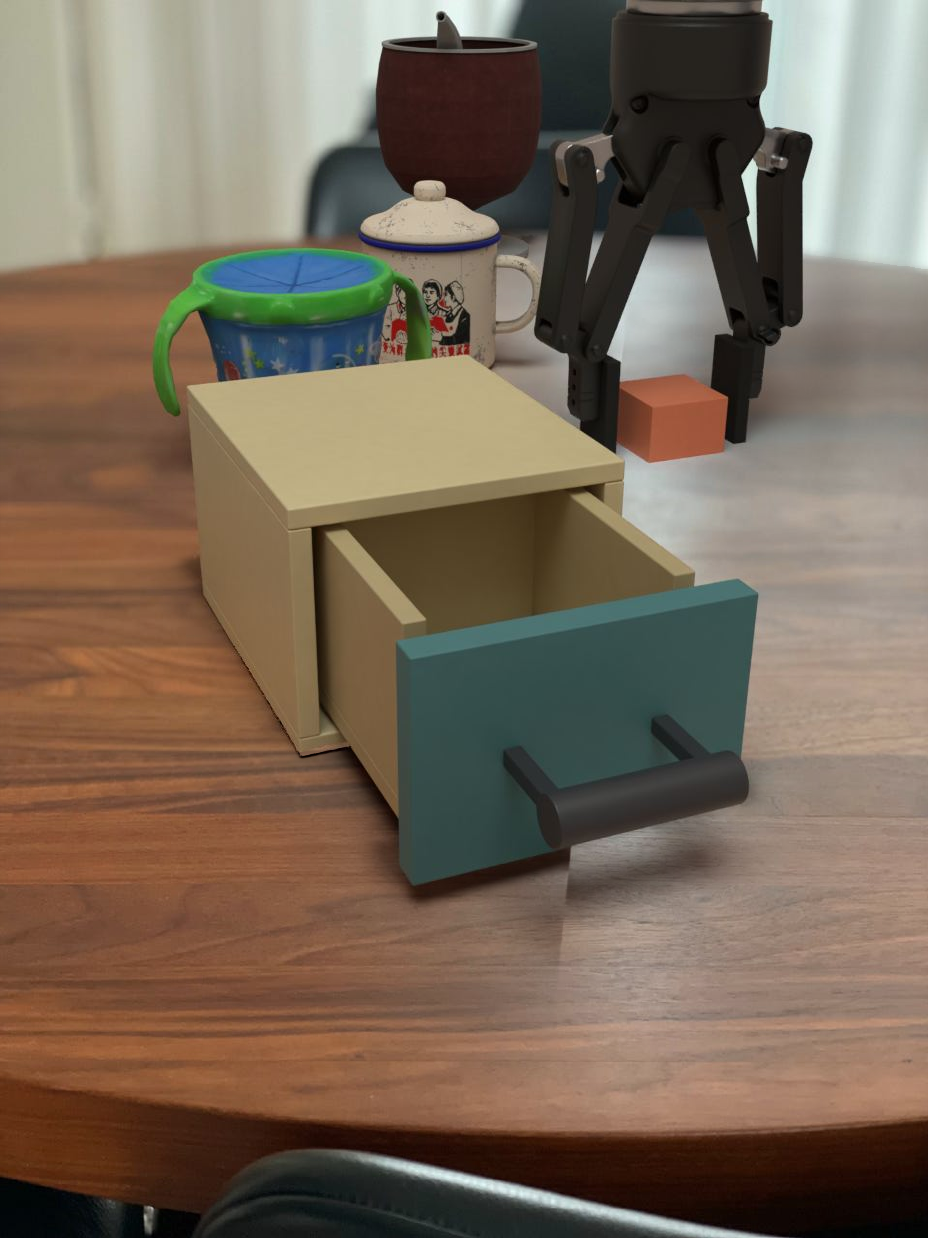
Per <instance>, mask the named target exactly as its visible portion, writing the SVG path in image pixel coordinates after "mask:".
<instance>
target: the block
mask: <svg viewBox="0 0 928 1238" xmlns="http://www.w3.org/2000/svg"><path fill="white" fill-rule="evenodd" d="M727 405H728V397H727V396H725V395H723V394H721V393H719V392H717V391H715V390H713V389H712V388H711V386H710V387H709V386H707V385H706V384H704V383H702V382H701V381H698V380H697V379H695V378H693V377H691V376H689V375H687V374H685V373H681V374H680V373H679V374H671V375H664V376H657V377H648V378H640V379H631V380H624V381H620V389H619V407H618V426H617V444H619V445H620V446H622V447H623V448H625V449H627V450H628V451H630V452H631V453H632V454H634V455H636V456H637V457H638V458H640V459H642V460H643V461H645V462H647V463H648V464H653V463H659V462H667V461H675V460H680V459H681V460H682V459H687V458H693V457H694V458H695V457H700V456H707V455H715V454H721V453H724V449H725V439H724V438H725V427H726V416H727Z"/></svg>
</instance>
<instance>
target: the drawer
mask: <svg viewBox="0 0 928 1238" xmlns="http://www.w3.org/2000/svg"><path fill="white" fill-rule="evenodd" d="M310 528H311V532H312V555H313V578H314V601H315V624H316V647H317V670H318V693H319V700H320V701H321V703H322V704H323V706H324V707H325V709H326V710H327V712H328V713H329V715H330V716H331V718H332V719H333V721H334V722H335V724H336V725H337V727H338V728H339V730H340V731H341V733H342V734H343V736H344V737H345V739H346V740H347V742H348V743H349V745H350V746H351V747H350V748H351V750H352V751H353V752H354V754H355V756H356V757H357V759H358V760H359V762H360V763H361V765H362V766H363V768H364V769H365V770H366V772H367V774H368V775H369V777H370V779H372V781H373V782H374V784H375V786H376V787H377V789H378V790H379V792H380V793H381V794H382V796H383V798H384V799H385V800H386V802H387V804H388V805H389V807H390V809H391V810H392V811H393V812H394V814H395V815H396V817H397V819H398V860H399V864H398V865H399V867H400V868H401V870H402V872H403V873H404V874H405V876H406V878H407V879H408V881H409V882H410V884H411V885H412V887H413V886H419V885H424V884H429V883H431V882H435V881H439V880H444V879H447V878H452V877H456V876H459V875H464V874H468V873H472V872H476V871H480V870H483V869H488V868H492V867H496V866H501V865H504V864H509V863H512V862H516V861H520V860H524V859H529V858H532V857H536V856H540V855H544V854H549V853H552V852H557V851H560V850H564V849H569V848H572V846H576V845H577V846H578V845H581V844H584V843H588V842H592V841H596V840H601V839H604V838H609V837H613V836H617V835H621V834H626V833H629V832H634V831H637V830H641V829H645V828H649V827H654V826H657V825H662V824H666V823H670V822H674V821H677V820H682V819H686V818H689V817H694V816H698V815H703V814H706V813H710V812H714V811H718V810H722V809H727V808H730V807H731V808H732V807H734V806H738V805H742V804H743V803H745V802H746V801H747V798H748V796H749V792H750V779H749V776H748V772H747V769H746V766H745V763H744V762H743V760H742V751H743V741H744V733H745V724H746V723H745V722H746V715H747V706H748V705H747V704H748V695H749V687H750V686H749V685H750V676H751V666H752V658H753V648H754V639H755V630H756V622H757V613H758V603H759V592H758V591H756V590H755V589H753V588H752V587H751V586H749V585H748V584H747V583H746V582H744V581H742V580H741V579H740V578H733V579H727V580H722V581H717V582H716V581H715V582H711V583H705V584H700V585H695V581H696V571H695V570H694V569H693V568H692V567H691V566H689V565H688V564H687V563H685V562H683V561H682V560H681V559H680V558H678V557H677V556H676V555H674V554H673V553H671V552H670V551H669V550H667V549H666V548H665V547H664V546H663V545H660V544H659V543H658V542H657V541H655V540H654V539H653V538H652V537H650V536H649V535H647V534H646V533H645V532H644V531H642V530H641V529H639V528H638V527H637V526H635V525H634V524H633V523H631V522H630V521H628V520H627V519H626V518H624V517H623V515H622V516H620V515H619V514H618V513H616V512H615V511H613V510H612V509H611V508H609V507H608V506H607V505H605V504H604V503H603V502H601V501H600V500H599V499H597V498H596V497H595V496H593V495H592V494H591V493H589V492H588V491H587V490H585V489H584V488H582V487H574V488H568V489H561V490H554V491H548V492H541V493H534V494H528V495H521V496H514V497H508V498H501V499H494V500H488V501H481V502H474V503H468V504H461V505H454V506H448V507H441V508H434V509H428V510H421V511H415V512H408V513H401V514H395V515H388V516H381V517H375V518H368V519H361V520H355V521H348V522H341V523H335V524H328V525H321V526H315V527H310Z"/></svg>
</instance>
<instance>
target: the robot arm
mask: <svg viewBox="0 0 928 1238" xmlns="http://www.w3.org/2000/svg"><path fill="white" fill-rule="evenodd" d="M762 8H763V0H626V5H625V9H620V10H618V11H616V16H615V17H612V18H611V39H610V58H609V59H610V60H609V61H610V62H609V88H610V95H611V96H610V97H611V107H610V110H609V113H608V116H607V119H606V121H605V123H604V124H603V127H602V129H601V133H599V134H596V135H592V136H589V137H586V138H582V139H580V140H577V141H569V140H566V139H561V138H560V139H556V140H555V141H553V142H552V143H551V145H549V149H548V160H549V161H548V162H549V168H550V173H551V180H552V184H553V196H552V202H551V210H550V216H549V217H550V218H549V223H548V230H547V237H546V244H545V251H544V259H543V263H542V264H543V265H542V272H541V275H542V278H541V285H540V291H539V298H538V305H537V312H536V316H535V318H534V319H535V320H534V326H533V335H534V337H535V339H537V341H539V342H541V343H543V344H544V345H547V346H548V347H550V348H551V349H552V350H554V351H556V352H558V353H560V354H566V355H567V357H568V369H567V371H568V372H567V373H568V375H567V396H566V399H567V400H566V406H567V408H568V412H569V414H570V415H572V416H573V417H575V418H576V419H578V420H579V430H580V431H582V432H583V433H585V434H586V435H588V436H589V437H591V438H592V439H594V440H595V441H597V442H598V443H600V444H601V445H603V446H604V447H606V448H607V449H609V450H610V451H611V452H613V453H614V454H616V455H617V444H618V442H617V426H618V407H619V389H620V382H621V367H622V362H621V361H620V360H618V359H616V358H614V357H613V356H612V355H610V354H608V352H609V351H610V347H611V345H612V342H613V340H614V337H615V334H616V331H617V329H618V327H619V323H620V321H621V319H622V317H623V314H624V310H625V308H626V306H627V303H628V301H629V298H630V296H631V293H632V290H633V287H634V285H635V283H636V279H637V278H638V275H639V273H640V270H641V267H642V264H643V263H644V259H645V257H646V255H647V251H648V250H649V246H650V244H651V241H652V238H653V236H654V235H655V234H657V233H658V232H659V231H660V230H661V229H662V227H663V225H664V222H665V220H666V217H667V214H670V213H671V214H673V213H677V212H681V211H682V210H685V209H688V208H691V209H692V208H693V211H694V212H695V214H696V216H697V217H699V219H700V221H701V224H702V227H703V231H704V235H705V238H706V243H707V246H708V247H707V248H708V250H709V254H710V257H711V263H712V266H713V269H714V270H713V271H714V273H715V277H716V281H717V284H718V288H719V292H720V296H721V300H722V304H723V307H724V311H725V315H726V320H727V323H728V326H729V329H730V330H731V331H732V334H729V333H728V332H727V333H719V334H714V343H713V352H712V354H713V355H712V366H711V377H710V388H712V389H713V390H715V391H717V392H719V393H721V394H723V395H725V396H727V397H728V405H727V416H726V427H725V438H724V440H726V441H727V442H730V444H732V445H737V444H743V443H746V442H747V431H748V421H749V411H750V400H752V399H758V398H759V395H760V393H761V391H762V387H763V377H764V367H765V358H766V348H767V347H773V346H775V345H777V344H778V343H779V341H780V339H781V336H782V329H784V328H786V327H788V328H794V327H796V326H798V325H799V324H800V323H801V321H802V319H803V315H804V199H803V198H804V193H803V191H804V185H803V184H804V183H803V182H804V179H805V175H806V171H807V168H808V164H809V161H810V157H811V153H812V150H813V146H814V141H813V138H812V136H811V135H810V134H809V133H807V132H804V131H798V130H795V129H794V130H793V129H790V128H785V127H781V126H774V127H771V128H770V127H767V126H766V122H765V120H764V117H763V114H762V111H761V103H760V101H761V97H762V95H763V92H764V91H765V89H766V88H767V85H768V79H769V67H770V58H771V45H772V34H773V25H774V20H772V19H770V17H769V16H770V14H769V13H768V12H767V11H762ZM608 161H610V163H611V165H612V167H613V168H614V170H615V172H616V173H617V175H618V177H619V180H618V182H617V184H616V187H615V190H614V193H613V195H612V198H611V201H610V203H609V205H608V206H609V207H608V210H607V211H608V216H609V220H608V223H607V226H606V228H605V231H604V233H603V235H602V238H601V241H600V244H599V247H598V250H597V252H596V254H595V258H594V260H593V263H592V265H591V267H590V271H589V265H590V258H591V251H592V245H593V238H594V232H595V225H596V219H597V214H598V206H599V184H601V183H602V182H604V180H605V179H606V172H605V170H606V169H605V168H606V165H607V164H608ZM752 161H753V162H754V163H755V165H756V167H757V171H756V178H755V179H756V180H755V181H756V182H755V201H756V202H755V204H756V205H755V206H756V208H755V209H756V252H755V246H754V244H753V243H754V242H753V238H752V234H751V231H750V226H749V222H748V217H749V216H750V214H751V210H750V205H749V202H748V201H749V200H748V197H747V193H746V189H745V185H744V181H743V174H744V172H745V171H746V169H747V168H748V167H749V165H750V164H751V162H752ZM638 205H640V207H639V208H638ZM588 271H589V274H588Z"/></svg>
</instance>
